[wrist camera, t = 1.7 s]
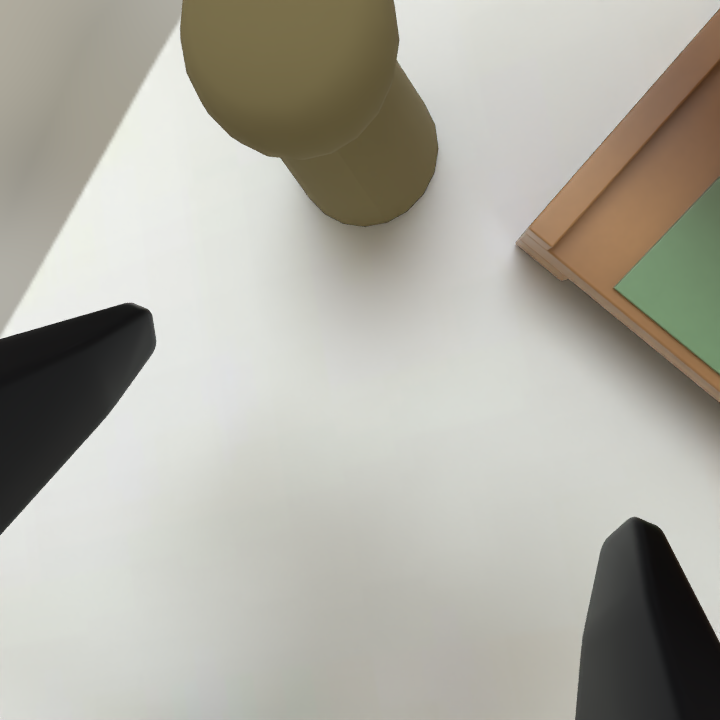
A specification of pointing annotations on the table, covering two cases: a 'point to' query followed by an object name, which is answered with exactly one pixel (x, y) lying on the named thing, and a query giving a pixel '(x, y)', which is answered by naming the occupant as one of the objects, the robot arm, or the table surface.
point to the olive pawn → (316, 97)
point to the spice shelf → (651, 216)
